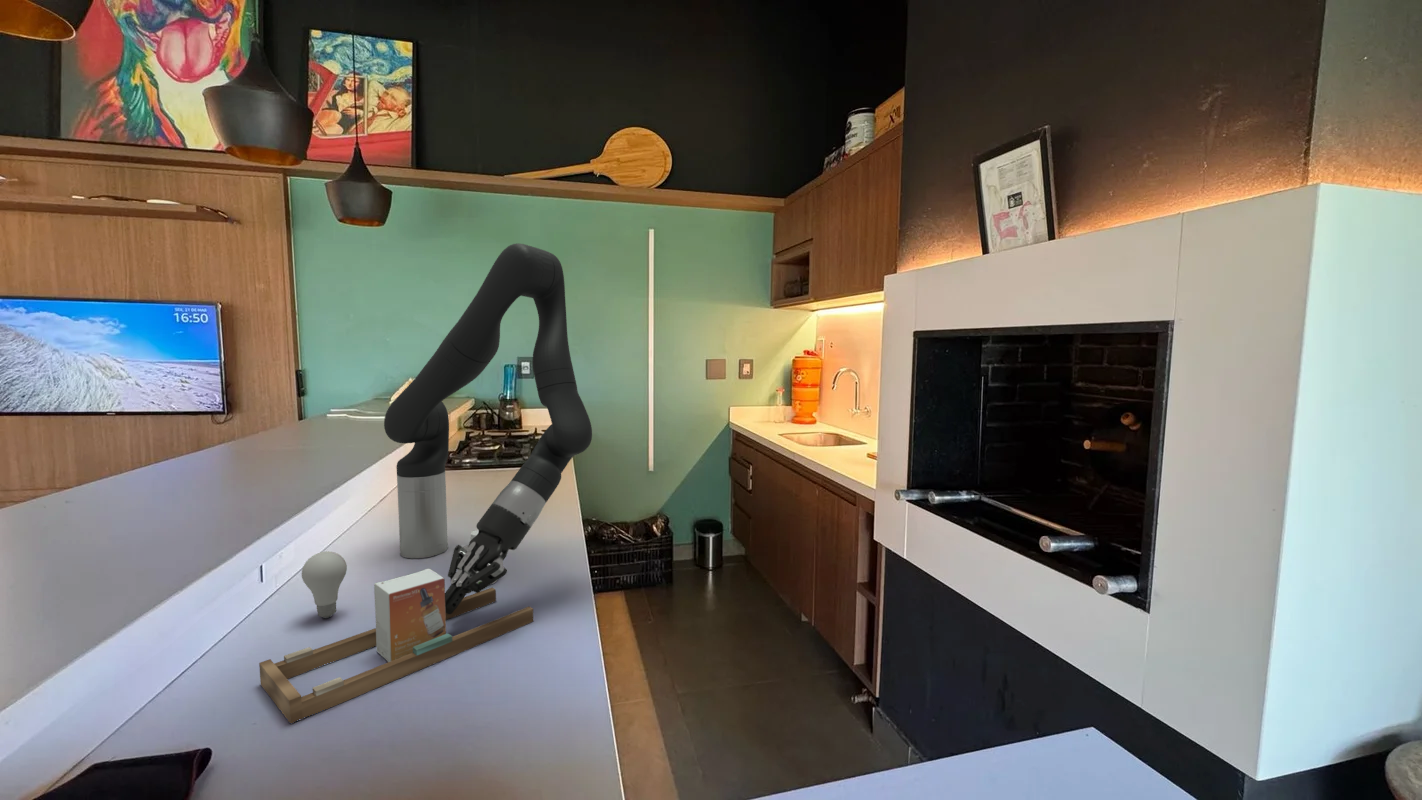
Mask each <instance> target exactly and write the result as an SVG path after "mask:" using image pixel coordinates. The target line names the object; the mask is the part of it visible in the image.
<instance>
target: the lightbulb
mask: <svg viewBox="0 0 1422 800" xmlns="http://www.w3.org/2000/svg"><path fill="white" fill-rule="evenodd" d="M347 567H348V565H347V562H346V560H345V559H344V557H343V556H342V555H340V554H339V553H336V552H334V551H327V550H326V551H320V552H317V553H315V554H314V555H312V556H311V557H309V558H308V559H307V560H306V562H305V563H304V564H303V566H302V569H301V579H302V582H303V583H304V584H305V586H306V587H307V588H308V589H309V591H310V592H311V594H312V597H313V600H314V601H313V602H314V604H315V605H316V609H317V610H316V611H317V615H318V617H321V618H323V619H328V618H331V616H333V615H335V613H336V612H337V601H338V598H339V589H340V586H341V584H342V582H343V581H344V578H345V577H346V574H347V571H348V568H347Z"/></svg>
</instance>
